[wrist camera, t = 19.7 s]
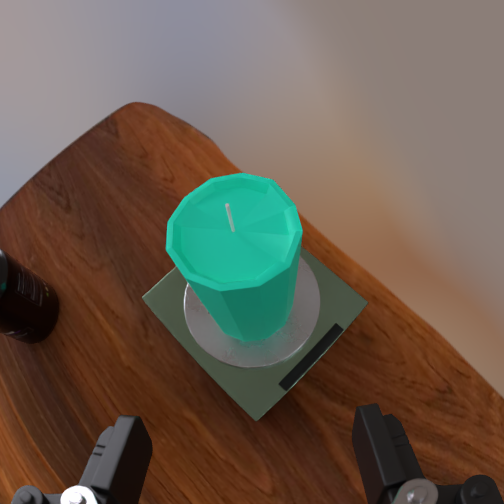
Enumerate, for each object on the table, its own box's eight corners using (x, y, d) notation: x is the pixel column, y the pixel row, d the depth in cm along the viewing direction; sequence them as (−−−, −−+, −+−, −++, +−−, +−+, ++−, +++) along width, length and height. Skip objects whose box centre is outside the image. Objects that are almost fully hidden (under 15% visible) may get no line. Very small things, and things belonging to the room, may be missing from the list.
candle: (227, 354, 22) (176, 303, 11) (198, 281, 24) (141, 180, 14) (306, 321, 22) (333, 238, 12) (272, 251, 25) (266, 133, 14)
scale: (361, 311, 25) (371, 299, 23) (258, 420, 22) (255, 422, 19) (250, 218, 30) (247, 197, 27) (151, 306, 27) (137, 294, 24)
